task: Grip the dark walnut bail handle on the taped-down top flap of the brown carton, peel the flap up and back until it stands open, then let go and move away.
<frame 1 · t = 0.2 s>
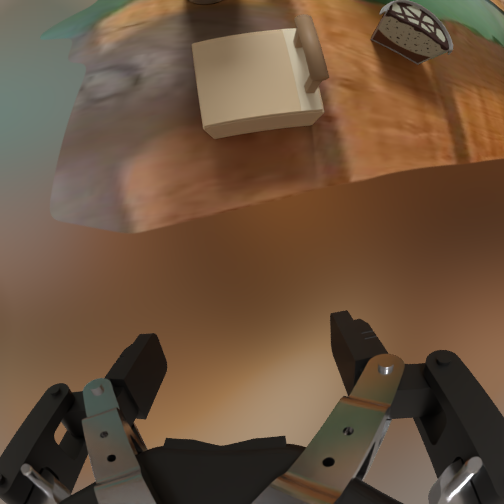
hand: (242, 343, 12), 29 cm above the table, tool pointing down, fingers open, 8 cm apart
food container: (396, 40, 31), on the table
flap: (255, 60, 23), point 12 cm above the table, hinge at 0.0°
carton: (256, 92, 35), on the table
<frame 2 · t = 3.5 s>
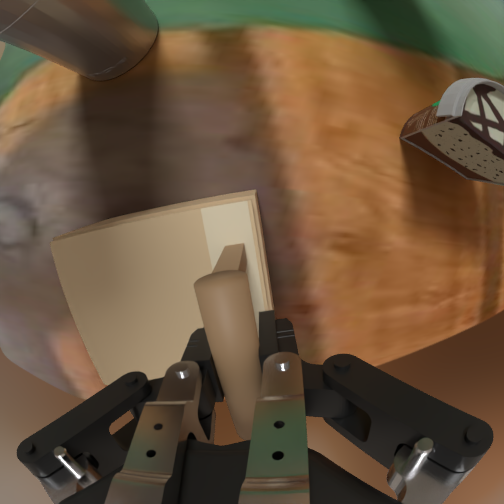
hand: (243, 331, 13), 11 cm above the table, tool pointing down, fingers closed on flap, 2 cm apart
food container: (441, 132, 20), on the table
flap: (137, 343, 13), point 12 cm above the table, hinge at -0.1°, touching gripper
carton: (188, 271, 24), on the table
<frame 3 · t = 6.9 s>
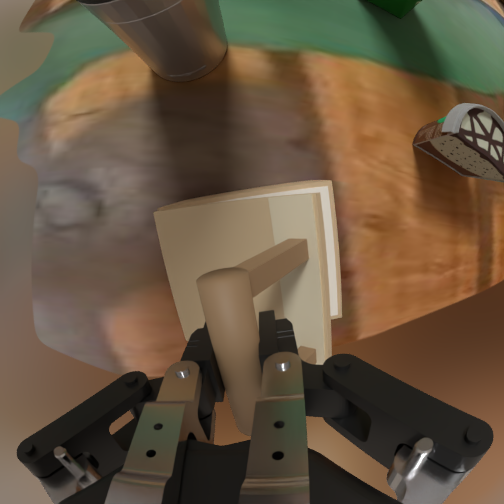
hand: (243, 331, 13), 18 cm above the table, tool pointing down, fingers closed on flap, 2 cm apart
food container: (442, 140, 26), on the table
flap: (195, 312, 16), point 15 cm above the table, hinge at 36.9°, touching gripper
carton: (255, 244, 30), on the table
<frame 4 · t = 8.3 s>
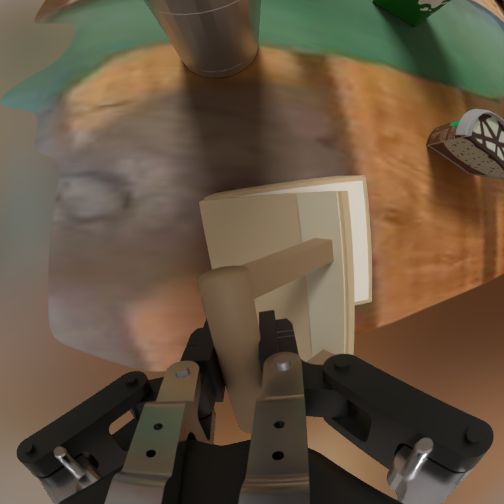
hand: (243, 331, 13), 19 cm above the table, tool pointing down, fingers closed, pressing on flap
food container: (452, 141, 28), on the table
milk carton: (396, 3, 22), on the table
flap: (223, 303, 16), point 16 cm above the table, hinge at 53.5°, touching gripper
carton: (285, 235, 31), on the table
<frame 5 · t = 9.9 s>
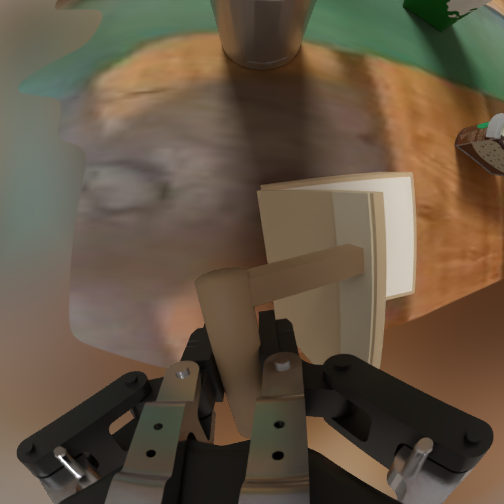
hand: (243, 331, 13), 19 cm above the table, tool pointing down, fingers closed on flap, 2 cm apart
food container: (476, 142, 27), on the table
milk carton: (423, 7, 21), on the table
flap: (259, 299, 16), point 16 cm above the table, hinge at 72.7°, touching gripper
carton: (328, 229, 31), on the table
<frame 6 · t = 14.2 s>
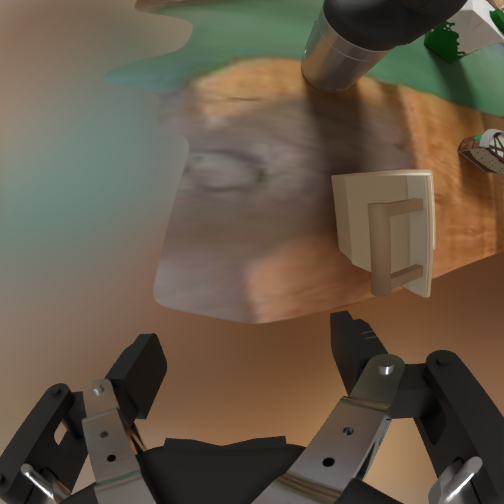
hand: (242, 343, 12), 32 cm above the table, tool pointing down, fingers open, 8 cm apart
food container: (473, 148, 38), on the table
milk carton: (438, 43, 32), on the table
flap: (363, 233, 27), point 16 cm above the table, hinge at 73.1°
carton: (374, 208, 41), on the table
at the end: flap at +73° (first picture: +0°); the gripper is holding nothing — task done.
